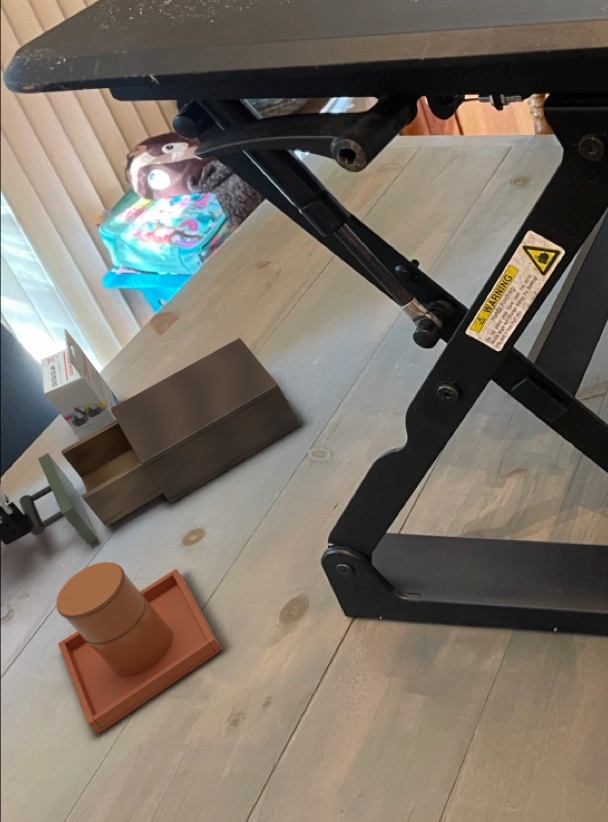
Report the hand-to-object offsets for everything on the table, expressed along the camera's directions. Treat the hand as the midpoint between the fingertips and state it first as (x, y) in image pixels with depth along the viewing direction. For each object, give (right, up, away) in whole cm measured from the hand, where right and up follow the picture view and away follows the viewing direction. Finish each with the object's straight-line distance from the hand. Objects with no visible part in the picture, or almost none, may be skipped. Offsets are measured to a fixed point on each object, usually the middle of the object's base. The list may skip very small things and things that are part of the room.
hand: (18, 534), depth 128 cm
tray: (+22, -10, -13) cm, 28 cm away
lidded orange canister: (+22, -9, -13) cm, 28 cm away
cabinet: (+18, +10, +12) cm, 24 cm away
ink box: (+1, +10, +18) cm, 20 cm away
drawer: (+9, +4, +7) cm, 12 cm away
